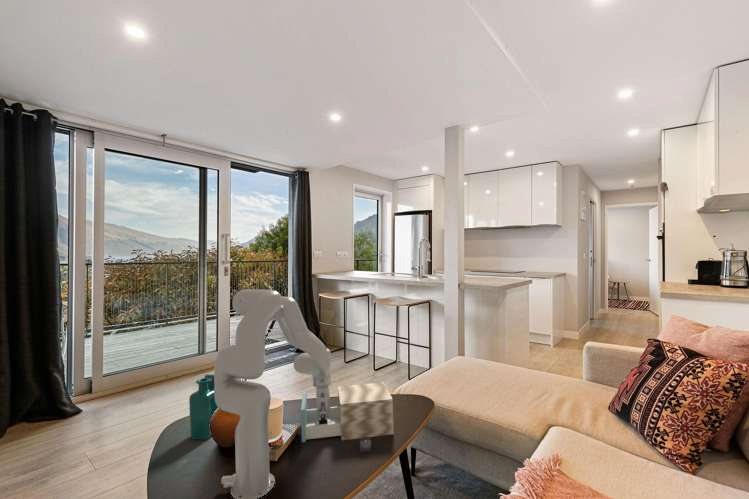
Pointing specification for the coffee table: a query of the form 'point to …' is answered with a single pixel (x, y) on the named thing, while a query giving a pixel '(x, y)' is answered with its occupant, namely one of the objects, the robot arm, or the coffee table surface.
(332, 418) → the drawer
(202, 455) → the coffee table surface
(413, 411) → the coffee table surface
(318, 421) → the disc
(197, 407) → the teal bottle vase
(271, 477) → the robot arm
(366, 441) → the stand
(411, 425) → the coffee table surface
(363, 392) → the cabinet
